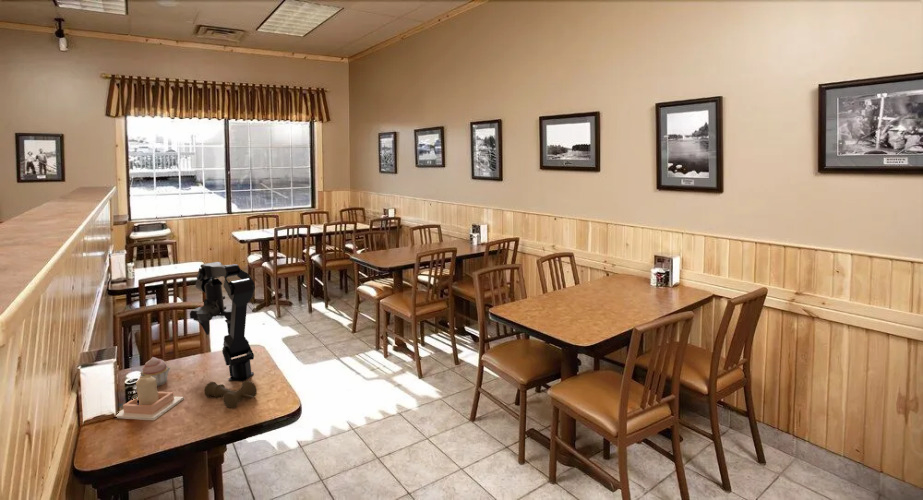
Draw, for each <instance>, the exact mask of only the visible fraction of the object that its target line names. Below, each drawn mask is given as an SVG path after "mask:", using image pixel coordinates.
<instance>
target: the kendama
mask: <svg viewBox="0 0 923 500" xmlns="http://www.w3.org/2000/svg"><path fill="white" fill-rule="evenodd" d="M240 386H241V387H239V389H237V390H236V391H235V390H231V389H229V388H227V387H226V386H225V385H224V384H217V382H215V381H210V382H209V383H207V384H206V385H205V386H204V392H203V393H204V395H205V397H207V398H212V397H215V398H217V399H219V398H221V397H222V402H223V404H224V406H225V407H226V408H228V409H230V410H231V409H232V410H233V409H236V407H237V406H238V404H239V403H240V401H241V400H244V399H245V398H246V399H255V398H256V395H257V391H258V390H257V387H256V385H255V384H254V382H253V381H250V380H245V381H242V384H241V385H240Z"/></svg>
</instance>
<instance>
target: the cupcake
mask: <svg viewBox="0 0 923 500" xmlns="http://www.w3.org/2000/svg"><path fill="white" fill-rule="evenodd" d="M170 370H171V367H169V366H168V365H167V364H166V362H165V361H164V360H163V359H161V358H157V357H154V356H152V357H151V359H149V360H148V361H146V362H145V364H144V366H143V367H142V370H141V372H140V373H139V375H140V374H141V375H140V377H144V376H146V375H151V376H152V377H154V378H156V384H157V387H159V386H162V385H165V384H166V383H167V382H168V381H167V380H168V376H169V372H170Z"/></svg>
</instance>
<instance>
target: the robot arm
mask: <svg viewBox="0 0 923 500" xmlns="http://www.w3.org/2000/svg"><path fill="white" fill-rule="evenodd" d="M235 276H237V277H238V278H239V279H238V280H237V279H235V280H231V281H229V280H228V278H229V277H230V278H231V277H235ZM221 277H223V278H224V282H222V281H221V280H220V279H219V278H221ZM222 285H223V287H222ZM195 288H196V289H197V290H198V291H200V292H202V293H205V298H206V299H204V300H203V306H200V307H196V308H194V309H192V310H190V312H189V318H190V319H193V321H195V322H198V323H199V324H200V327H202V329H203V331H204V333H205V334H206V336H207V335H210V331H211V330H210V329H211V327H210V325H211V324H210V321H211V320H212V319H213V317H215V318H216V317H217V316H218V317H224V318H225V320H224V322H226V323H225V324H226V327H227V334H226V335H224V337H223V344H222V346H223V347H222V349H221V350H222V356H223V360H224V362H225V366H228V372H229V378H228V381H236V382H244V381H248V379H249V378H251V377H252V376H253V375H254V374H255V373H254V372H252V365H251V361H252V360H254V359H255V353H254V352H253V350H252V347H251V345H250V342H249V340H248V339H247V338H246V337H245V336H246V335H245V334H246V320H247V307H248V303H249V302H250V301H252V299H253V297H254V294H255V289H256V285H255V282H254V280H253V279H252V277H251V275H250V274H249V273H247V272H246V271H244V270H243V269H241V267H240V266H239V264H237V263H236V264H235V263H234V264H223V263H222V262H220V261H214V262H207V263H202V264H200V267H199V269H198V272H197V275H196V281H195ZM223 289H224V290H225V292H226V294H227V296H228V298H229V299H230V300H231V309H228V310H227V305H226V306H225V304H224V300H225V299H226V296H225V295H223Z"/></svg>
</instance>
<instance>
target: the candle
mask: <svg viewBox="0 0 923 500" xmlns="http://www.w3.org/2000/svg"><path fill="white" fill-rule="evenodd" d="M135 386H136V392H137V396H138V400H139V405H152V404H153V403H155V402H156V401H158V400H159V397H158V392H159V391H158V386H157V384H156V378H154V377H152V376H151V375H146V376H144V377H142V376H140V377H139V378H138V379H137V381H136V382H135Z"/></svg>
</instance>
